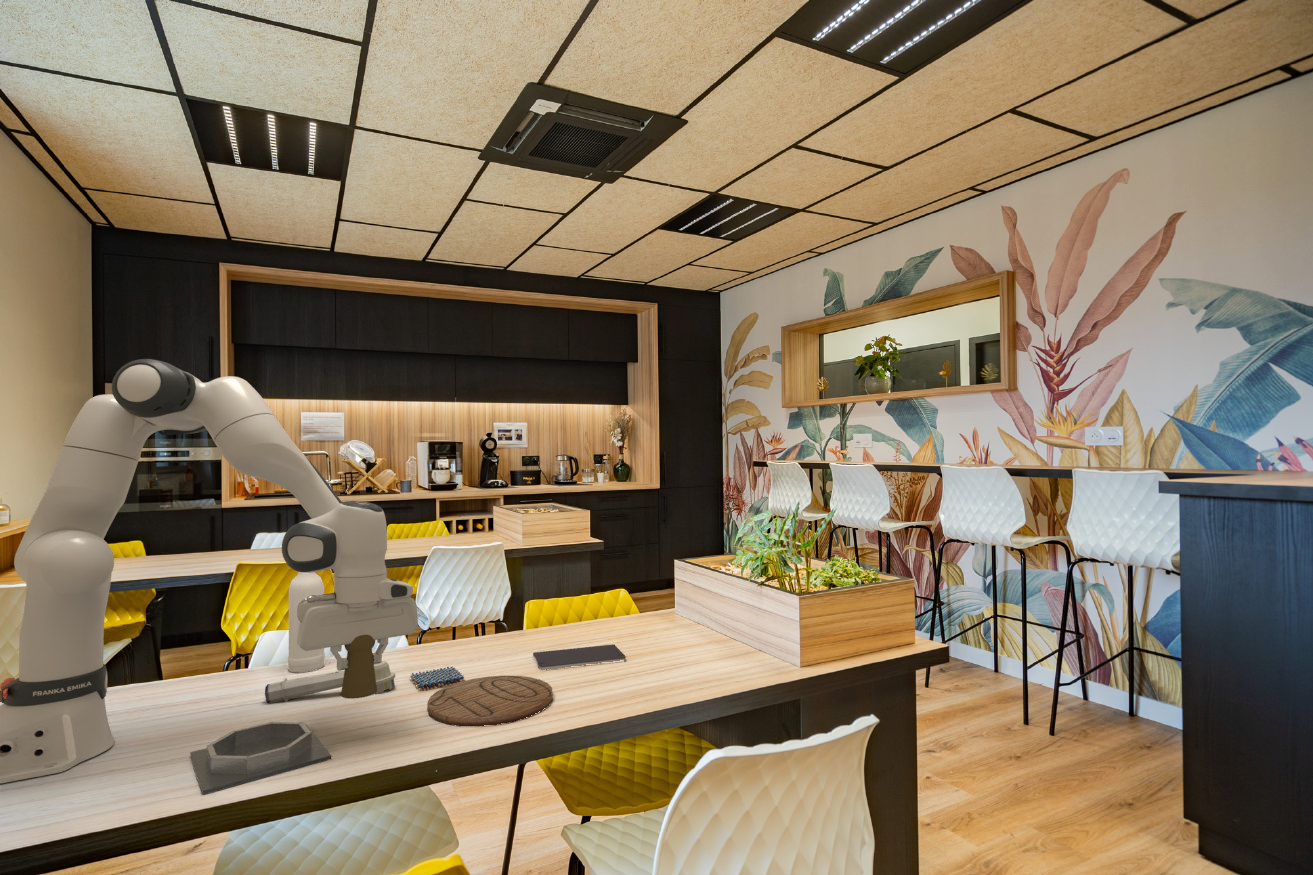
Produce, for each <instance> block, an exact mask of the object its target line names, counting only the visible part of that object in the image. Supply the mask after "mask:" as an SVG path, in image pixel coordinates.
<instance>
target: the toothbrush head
mask: <svg viewBox="0 0 1313 875" xmlns="http://www.w3.org/2000/svg"><path fill="white" fill-rule="evenodd" d="M390 668H391V667H390V665H389V663H388V662H387V661H386V660H383V661H382V662H381V663H379V664H374V670H375V678H376V686H377V692H376V693H375V694H381V693H384V692H385V691H386V690H389V691H391V690H392V689H393V688H395V687H396V684H395V678H396V672H393V671H391V669H390ZM344 671H345V670H341V671H338V670H337V671H333V672H327V673H322V674H316V675H315V674H314V675H310V676H304V677H295V678H292V679H288V677H287V678H284V679H283V680H281V681H276V682H272V683H269V684H266V685H265V688H264V698H265V702H266V703H267V704H272V703H276V702H277V703H279V702H287V701H289V700H291V699H296V698H300V697H301V698H302V697H304V696H309V695H313V694H317V693H318V694H319V693H321V692H326V691H330V690H335V689H339V688H342V684H343V678H344Z"/></svg>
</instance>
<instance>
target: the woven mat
mask: <svg viewBox="0 0 1313 875" xmlns="http://www.w3.org/2000/svg"><path fill="white" fill-rule="evenodd" d="M409 678H411V679H409V681H411V684H413V685H414V686H415V687H416V689H417V691H418V692H424V690H425V691H430V690H435V689H439V688H441V689H442V688H445V687H447V686H449V685H452V684H455V683H458V682H462V681H466V679H465V675H464V674H462V673H461V671H459V669H457V668H456V667H453V666H450V667H449V666H447V667H444V668H442V667H441V668H439V669H434V668H433V670H432V669H431V670H429V671H428V670H426V671H422V672H421V671H418V672H416V673H415V674H414V672H412V673H411V675H409ZM416 685H417V686H416Z"/></svg>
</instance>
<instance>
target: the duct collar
mask: <svg viewBox="0 0 1313 875" xmlns="http://www.w3.org/2000/svg"><path fill="white" fill-rule="evenodd" d="M189 757H190V760H191V764H192V767H193V770H194V772H195V775H196V778H197V782H198V784H199V787H200V791H201V794H202V796H204V795H208V794H211V793H214V792H219V791H222V790H225V789H229V788H232V787H236V786H240V785H243V784H246V783H251V782H255V781H258V780H262V779H264V778H268V777H271V776H276V775H279V774H283V773H286V772H290V771H294V770H297V769H299V768H304V767H307V766H311V765H314V764H315V765H316V764H318V763H322V762H326V761H329V760H332V754H331V753H330V752H329V750H328V749H327V748H326V747H325V745H324V744H323V743H322V742H321V740H320V739H318V737H317V736H316V734H315V733H314V732H313V731H312V730H311V728H310V727H309V726H308V725H307V724H306V723H305V722H303V721H301V722H300V721H269V722H264V723H261V724H256V725H253V726H248V727H244V728H240V729H236V730H232V731H230V732H228V733H226V734H225V735H222V736H221V737H219V738H218V739H215V740H214V741H212V742H210V743H208V744H207V745H206V747H205V748H202V749H198V750H193V751H190V752H189Z"/></svg>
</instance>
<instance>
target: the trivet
mask: <svg viewBox="0 0 1313 875" xmlns="http://www.w3.org/2000/svg"><path fill="white" fill-rule="evenodd" d="M465 680H466V679H465ZM428 698H429V699H428V700H427V702H426V703H427V704H426V705H427V706H426V707H427V713H428V716H429V717H430V718H431V719H433V721H435V722H438V723H442V724H444V725H449V726H454V727H455V725H456V727H461V726H482V727H485V726H484V725H494V726H498V725H497V724H500V725H502V724H501V723H506V724H510V723H509V722H511V723H515V722H519V721H521V720H520V719H522V720H525V719H527V718H526V717H529V718H530V716H531V715H533V716H535V715H536V714H535V713H538V712H539V711H541V712H543V711H544V710H545V709H544V708H546V707H547V706H548V707H550V705H551V704H552V702H553V701H552V700H553V687H552V686H551V685H550V684H549V683H548V682H547V681H544V680H541V679H539V678H534V677H531V676H524V675H523V676H522V675H492V676H484V677H478V678H471V679H467V680H466V681H462V682H458V683H455V684H454V683H453V684H452V685H449V686H446V687H442V688H441V689H439V690H436V692H434V693H433V694H432V695H430V697H428ZM550 703H551V704H550ZM549 704H550V705H549ZM548 707H547V708H548ZM547 708H546V709H547ZM543 709H544V710H543ZM542 710H543V711H542ZM534 714H535V715H534ZM538 714H539V713H538ZM531 717H532V716H531ZM524 718H525V719H524ZM518 720H519V721H518ZM514 721H515V722H514Z"/></svg>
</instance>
